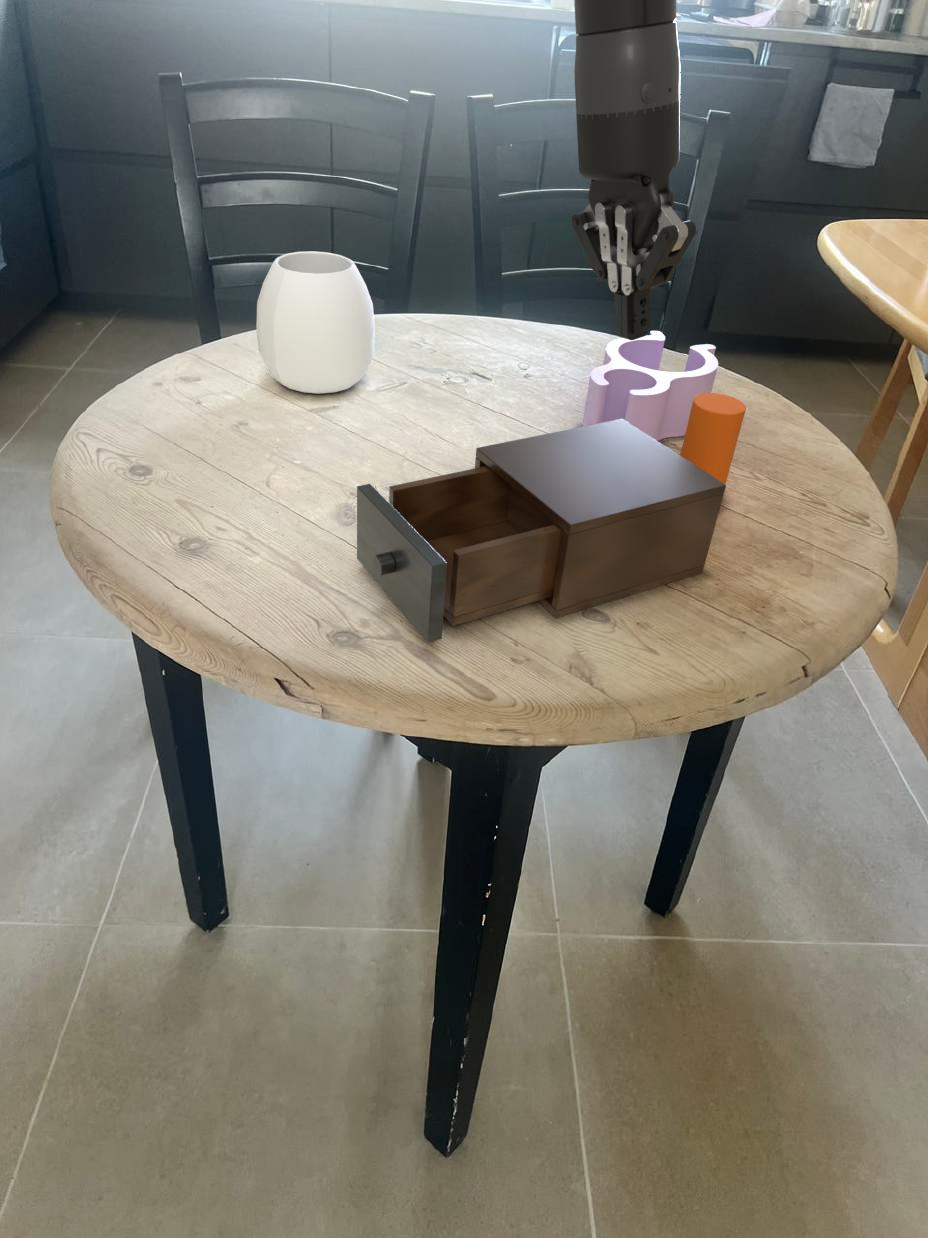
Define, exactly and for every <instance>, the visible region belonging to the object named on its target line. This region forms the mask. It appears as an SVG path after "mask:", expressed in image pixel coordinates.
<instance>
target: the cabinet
mask: <svg viewBox="0 0 928 1238" xmlns="http://www.w3.org/2000/svg"><path fill="white" fill-rule="evenodd" d="M484 466H488V467H489V468H491V469H492V470H493V471H494V472H495V473H497V474H498V475H499V476H500V477H501V478H503V479H504V480H505V481H506V482H507V483H509V484H510V485H511V486H512V487H513V488H515V489H516V490H517V491H518V492H519V493H521V494H522V495H523V496H524V497H525V498H527V499H528V500H529V501H530V502H531V503H533V504H534V505H535V506H536V507H537V508H539V509H540V510H541V511H542V512H543V513H545V514H546V515H547V516H548V517H549V518H551V519H552V520H553V521H554V522H555V523H557V524H558V525H559V526H560V527H561V528H563V529H564V531H563V537H562V543H561V549H560V556H559V562H558V568H557V575H556V581H555V587H554V594H553V596H552V597H548V598H545V599H541V600H538V601H537V602H538V603H539V604H540V605H541V606H542V607H543V608H544V609H545V610H546V611H547V612H548V613H549V614H550V615H551V616H553V617H554V619H559V618H563V617H565V616H568V615H571V614H575V613H579V612H580V611H584V610H587V609H590V608H594V607H597V606H601V605H603V604H607V603H610V602H613V601H616V600H619V599H622V598H626V597H629V596H632V595H636V594H639V593H642V592H645V591H649V590H652V589H655V588H657V587H660V586H665V585H668V584H671V583H674V582H677V581H680V580H684V579H687V578H691V577H694V576H697V575H700V574H702V573H703V572H704V569H705V564H706V561H707V557H708V553H709V549H710V545H711V542H712V539H713V535H714V531H715V529H716V524H717V521H718V517H719V513H720V510H721V506H722V502H723V499H724V495H725V492H726V488H727V484H724V483H722V482H720V481H719V480H717V479H716V478H714V477H713V476H711V475H710V474H708V473H706V472H705V471H703V470H702V469H700V468H699V467H697V466H695V465H694V464H692V463H691V462H689V461H688V460H686V459H685V458H683V457H681V456H680V454H678V453H677V452H675V451H673V450H672V449H671V448H669V447H668V446H666V445H665V444H663V443H662V442H659V441H657V440H655V439H653V438H652V437H650V436H649V435H647V434H646V433H644V432H642V431H641V430H639V429H638V428H636V427H635V426H633V425H632V424H630V423H628V422H627V421H625V420H624V419H619V420H614V421H609V422H604V423H599V424H594V425H589V426H584V427H582V426H579V427H574V428H569V429H564V430H559V431H554V432H549V433H544V434H540V435H535V436H529V437H525V438H519V439H515V440H509V441H504V442H499V443H495V444H489V445H484V446H479V447H476V448H475V460H474V468H479V467H484Z"/></svg>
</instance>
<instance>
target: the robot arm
mask: <svg viewBox="0 0 928 1238" xmlns="http://www.w3.org/2000/svg"><path fill="white" fill-rule="evenodd" d="M573 3H574V24H575V26H574V27H575V34H576V36H575V55H574V71H573V72H574V95H575V116H576V134H577V153H578V154H577V157H578V171H579V174H580V175H581V176H582V177H583V178H585V179H588V180H590V186H589V190H588V193H587V195H588V196H587V197H588V205H587V206H586V207H585V209H584V210H583V211H581V212H578V213H574V214H573V215H572V216H571V224H572V227H573V230H574V232H575V234H576V236H577V238H578V240H579V243H580V245H581V248H582V249H583V252H584V254H585V256H586V258H587V260H588V263H589V265H590V267H591V269H592V271H593V274H594V275H595V278H596V280H597V281H599V282H603V281H606V282H607V284H608V287H609V289H610V291H611V292H612V293H613V295H614V315H615V316H614V323H615V327H616V335H617V336H618V338H621V337H622V338H625V339H628V340H635V339H638V338H641V337H644V336H646V335H647V336H648V334H649V330H650V328H651V291H652V289H654V288H656V287H659V286H661V285H665V284H667V283H669V281H670V279H671V278H672V276H673V275H674V272H675V271H676V270H677V267H678V265H679V264H680V262H681V260H682V258H683V257H684V256H685V255H684V254H685V252H686V251H687V249H688V248H689V246H690V245H691V243H692V241H693V239H694V237H695V235H696V233H697V228H696V223H695V222H694V221H693V220H686V221H682V219H681V218H680V217H679V215H678V214H677V213H676V212H675V210H674V209H673V208H674V204H675V196H674V192H673V189H672V186H671V180H670V175H671V173H672V171H673V169H674V168H676V166H677V165H678V164H679V161H680V141H681V140H680V138H681V137H680V129H681V127H680V126H681V125H680V124H681V123H680V122H681V121H680V119H681V118H680V116H681V115H680V112H681V111H680V109H681V108H680V105H681V104H680V103H681V100H680V99H681V95H680V94H681V73H680V72H681V61H680V60H681V59H680V57H681V55H680V47H679V46H680V45H679V40H678V30H677V29H678V28H677V27H678V26H677V22H676V20H677V0H573Z"/></svg>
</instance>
